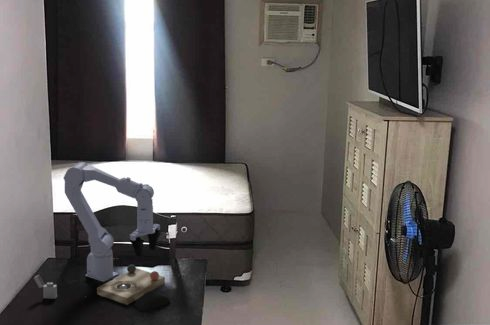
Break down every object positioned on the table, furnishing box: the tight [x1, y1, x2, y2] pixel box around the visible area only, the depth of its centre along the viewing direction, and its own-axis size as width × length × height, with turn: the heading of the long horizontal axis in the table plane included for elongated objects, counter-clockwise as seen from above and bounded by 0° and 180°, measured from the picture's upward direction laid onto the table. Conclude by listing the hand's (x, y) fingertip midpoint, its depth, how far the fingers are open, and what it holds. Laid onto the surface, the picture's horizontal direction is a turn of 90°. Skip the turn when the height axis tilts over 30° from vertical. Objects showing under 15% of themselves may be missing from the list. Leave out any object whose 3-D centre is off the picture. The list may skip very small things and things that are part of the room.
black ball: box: [126, 264, 137, 273], centre depth 196 cm, size 3×3×3 cm
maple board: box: [96, 267, 166, 306], centre depth 189 cm, size 14×20×2 cm
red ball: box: [150, 270, 160, 280], centre depth 190 cm, size 3×3×3 cm
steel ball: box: [119, 285, 128, 290], centre depth 185 cm, size 3×3×3 cm
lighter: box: [33, 274, 58, 300], centre depth 180 cm, size 7×2×8 cm, turn 90°
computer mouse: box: [134, 290, 171, 312], centre depth 178 cm, size 6×11×4 cm, turn 131°
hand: (145, 252), depth 196 cm, fingers open, 7 cm apart
